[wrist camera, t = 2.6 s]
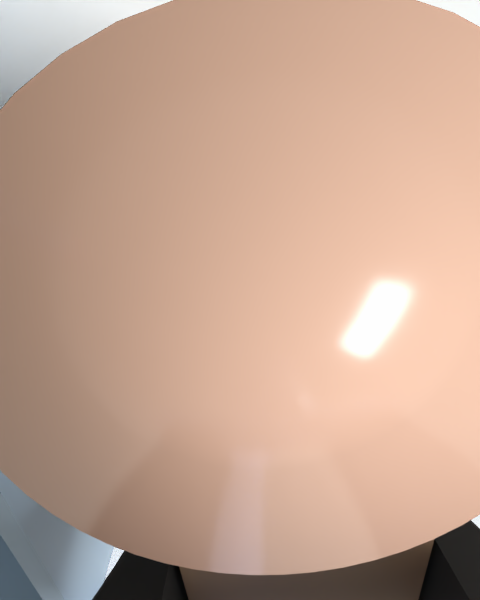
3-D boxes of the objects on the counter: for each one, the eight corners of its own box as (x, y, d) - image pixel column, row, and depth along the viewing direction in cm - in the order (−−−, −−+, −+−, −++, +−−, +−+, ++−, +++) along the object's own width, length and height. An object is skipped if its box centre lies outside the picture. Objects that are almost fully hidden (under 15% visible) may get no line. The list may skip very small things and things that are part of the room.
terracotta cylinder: (345, 287, 10) (519, 562, 4) (168, 301, 10) (59, 585, 4) (356, 79, 8) (820, -78, 2) (129, 101, 8) (-261, 39, 2)
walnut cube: (349, 470, 13) (405, 647, 9) (216, 478, 14) (205, 655, 9) (358, 361, 11) (438, 523, 7) (198, 372, 11) (170, 538, 7)
